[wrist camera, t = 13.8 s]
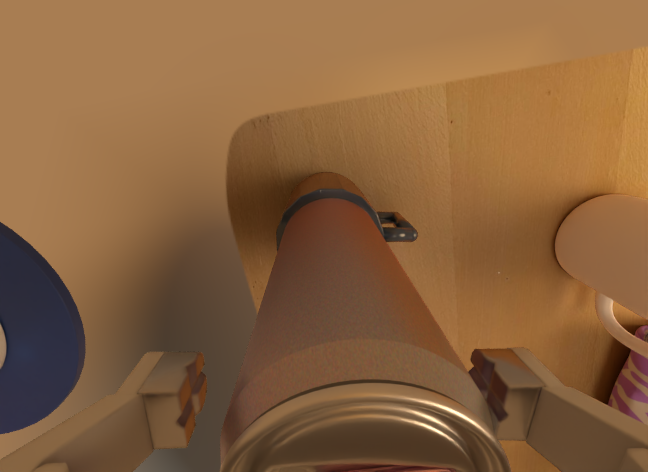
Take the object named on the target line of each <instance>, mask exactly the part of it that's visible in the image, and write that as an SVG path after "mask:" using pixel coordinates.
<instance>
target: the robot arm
mask: <svg viewBox="0 0 648 472" xmlns="http://www.w3.org/2000/svg"><path fill="white" fill-rule="evenodd" d="M6 349H7V347H6V338H5V334H4V331H3V328H2V326H1V324H0V369H1V367H2V365H3V363H4V361H5V357H6ZM471 362H472V363H473V365H474V367H473V368H472V369H471V370H470V371H469V372H468V373H469V374H470V376H471V378H472V379H473V381H474V382H475V384H476V386H477V387H478V389H479V390H480V392H481V394H482V396H483V397H484V399H485V401H486V404H487V406H488V409H489V412H490V415H491V420H492V425H493V431H494V435H495V436H496V437H497V439H498V440H527V441H526V442H527V443H528V444H529V445H530V446H531V447H533V448H534V449H535V450H536V451H538V452H539V453H540V454H541V455H542V456H544V457H545V458H546V459H547V460H548V461H550V462H551V463H552V464H553V465H555V466H556V467H557V468H558V469H559V470H561V471H562V472H648V425H646V424H644V423H642V422H640V421H638V420H636V419H634V418H632V417H630V416H628V415H626V414H624V413H622V412H620V411H618V410H616V409H614V408H612V407H610V406H608V405H606V404H604V403H602V402H600V401H598V400H596V399H594V398H592V397H590V396H588V395H586V394H584V393H582V392H581V391H579V390H577V389H575V388H573V387H566V386H565V385H564V384H563V383H562V382H561V381H560V380H559V379H558V378H557V377H556V376H555V375H554V374H553V373H552V372H551V371H550V370H549V369H548V368H547V367H546V366H545V365H544V364H543V363H542V362H541V361H540V360H539V359H538V358H537V357H536V356H534V355H533V354H532V353H531V352H530V351H529V350H528V349H526V348H524V347H521V348H507V349H474V351H473V352H472V355H471ZM203 366H204V357H203V354H202V353H201V352H148V353H146V354H145V355H144V356H143V357H142V359H141V360H140V361H139V363H138V364H137V365H136V367H135V368H134V369H133V371H132V372H131V373H130V375H129V376H128V377H127V379H126V380H125V381H124V383H123V384H122V385H121V387H120V388H119V389H118V391H117V392H116V393H115V395H107V396H106V397H104V398H102V399H101V400H99V401H97V402H96V403H94V404H93V405H91V406H89V407H88V408H86V409H84V410H82V411H81V412H79V413H78V414H76V415H74V416H72V417H71V418H69V419H67V420H66V421H64V422H62V423H61V424H59V425H57V426H56V427H54V428H52V429H51V430H49V431H47V432H46V433H44V434H42V435H41V436H39V437H37V438H36V439H34V440H33V441H31V442H29V443H27V444H26V445H24V446H22V447H21V448H19V449H17V450H16V451H14V452H13V453H11V454H9V455H7V456H6V457H4V458H2V459H1V460H0V472H133V471H134V470H135V469H136V468H137V467H138V466H139V465H140V464H141V463H142V462H143V461H144V460H145V459H146V458H147V457H148V456H149V455H150V454H151V453H152V452H153V449H170V448H186V447H187V446H188V443H189V441H190V438H191V436H192V433H193V431H194V428H195V425H196V424H195V416H196V415H197V414H198V413H199V412H201V410H202V408H203V405H204V402H205V397H206V392H207V379H206V375H205V374H203V372H201V370H202V368H203Z"/></svg>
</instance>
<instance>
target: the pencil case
mask: <svg viewBox="0 0 648 472" xmlns="http://www.w3.org/2000/svg"><path fill="white" fill-rule="evenodd" d="M635 337H637V338H639V339H640V340H642V341H645V342H647V343H648V325H645V326H641V327H639V328H638V329H637V330H636V333H635ZM608 406H610V407H612V408H614V409H616V410H618V411H620V412H622V413H624V414H626V415H628V416H630V417H632V418H634V419H636V420H638V421H640V422H642V423H644V424H646V425H648V357H645V356H643V355H641V354H639V353H637V352H635V351H633V350H632V349H631V352H630V354H629V357H628V359H627V361H626V363H625V365H624V367H623V369H622V370H621V372H620V374H619V376H618V378H617V380H616V383H615V385H614V387H613V390H612V393H611V396H610V399H609V402H608Z"/></svg>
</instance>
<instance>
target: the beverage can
mask: <svg viewBox="0 0 648 472" xmlns="http://www.w3.org/2000/svg"><path fill="white" fill-rule="evenodd" d="M220 452H221V468H220V471H219V472H511V468H510V465H509V462H508V459H507V456H506V454H505V452H504V450H503V448H502V446H501V444H500V443H499V441H498V439H497V437H496V436H495V435H494V431H493V425H492V420H491V415H490V412H489V409H488V406H487V404H486V401H485V399H484V397H483V396H482V394H481V392H480V390H479V389H478V387H477V386H476V384H475V382H474V381H473V379H472V378H471V376H470V374H469V373H468V371H467V370H466V368H465V366H464V365H463V363H462V362H461V360H460V359H459V357H458V355H457V354H456V352H455V351H454V349H453V347H452V346H451V344H450V343H449V341H448V339H447V338H446V336H445V335H444V333H443V331H442V330H441V328H440V327H439V325H438V323H437V322H436V320H435V319H434V317H433V316H432V314H431V312H430V311H429V309H428V308H427V306H426V304H425V303H424V301H423V300H422V298H421V296H420V295H419V293H418V292H417V290H416V288H415V287H414V285H413V284H412V282H411V280H410V279H409V277H408V276H407V274H406V273H405V271H404V269H403V268H402V266H401V265H400V263H399V261H398V260H397V258H396V257H395V255H394V253H393V252H392V250H391V249H390V247H389V245H388V244H387V242H386V241H385V239H384V237H383V236H382V234H381V233H380V231H379V229H378V228H377V226H376V225H375V223H374V222H373V220H372V219H371V217H370V216H369V215H368V213H367V212H366V211H364V210H363V209H362V208H361V207H359V206H358V205H356V204H354V203H352V202H350V201H347V200H343V199H338V198H325V199H319V200H316V201H313V202H310V203H308V204H306V205H305V206H303V207H302V208H300V209H299V210H298V211H297V212H296V213H295V214H294V215H293V216H292V217H291V219H290V220H289V222H288V223H287V225H286V227H285V230H284V233H283V236H282V239H281V243H280V246H279V249H278V252H277V255H276V258H275V262H274V265H273V268H272V271H271V274H270V278H269V281H268V284H267V287H266V290H265V293H264V297H263V300H262V303H261V306H260V309H259V313H258V316H257V319H256V322H255V325H254V329H253V332H252V335H251V338H250V341H249V344H248V347H247V351H246V354H245V357H244V360H243V363H242V367H241V370H240V373H239V376H238V379H237V382H236V386H235V389H234V392H233V395H232V398H231V401H230V405H229V408H228V411H227V414H226V417H225V421H224V424H223V427H222V432H221V440H220Z"/></svg>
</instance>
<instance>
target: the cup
mask: <svg viewBox="0 0 648 472" xmlns="http://www.w3.org/2000/svg"><path fill="white" fill-rule="evenodd" d="M555 253H556V257H557V260H558V262H559V264H560V265H561V267H562V268H563V269H564V270H565V271H566V272H567V273H568V274H570V275H571V276H572V277H574V278H575V279H577V280H579V281H581V282H582V283H584V284H586V285H587V286H589V287H591V288H593V289H594V290H596V295H595V308H596V313H597V316H598V318H599V320H600V322H601V323H602V325H603V326H604V328H605V329H606V330H607V331H608V332H609V333H610V334H611V335H612V336H613V337H614V338H616V339H617V340H618V341H619V342H621V343H622V344H624V345H625V346H627V347H628V348H630V349H632V350H633V351H635V352H637V353H639V354H641V355H643V356H645V357H648V343H647V342H645V341H642V340H640V339H639V338H637V337H635V336H633V335H632V334H630V333H629V332H628V331H626V330H625V329H624V328H623V327H622V326H621V325H620V324H619V323H618V322H617V320H616V319H615V317H614V314H613V310H612V306H613V300H614V301H615V302H617V303H619V304H621V305H622V306H624V307H626V308H627V309H629V310H631V311H633V312H634V313H636V314H638V315H640V316H641V317H643V318H645V319H647V320H648V199H644V198H640V197H635V196H629V195H622V194H609V195H603V196H599V197H596V198H593V199H591V200H588V201H586V202H584V203H583V204H581V205H580V206H578V207H577V208H575V209H574V210H573V211H572V212H571V213H570V214H569V215H568V216H567V217H566V218H565V220H564V221H563V223H562V224H561V226H560V228H559V230H558V233H557V235H556V240H555Z"/></svg>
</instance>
